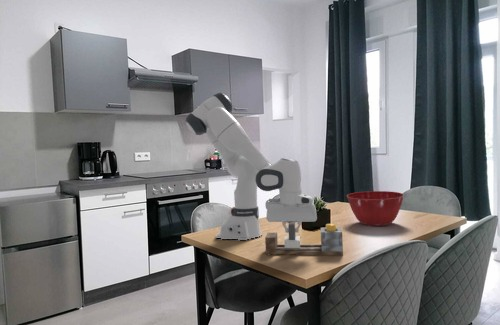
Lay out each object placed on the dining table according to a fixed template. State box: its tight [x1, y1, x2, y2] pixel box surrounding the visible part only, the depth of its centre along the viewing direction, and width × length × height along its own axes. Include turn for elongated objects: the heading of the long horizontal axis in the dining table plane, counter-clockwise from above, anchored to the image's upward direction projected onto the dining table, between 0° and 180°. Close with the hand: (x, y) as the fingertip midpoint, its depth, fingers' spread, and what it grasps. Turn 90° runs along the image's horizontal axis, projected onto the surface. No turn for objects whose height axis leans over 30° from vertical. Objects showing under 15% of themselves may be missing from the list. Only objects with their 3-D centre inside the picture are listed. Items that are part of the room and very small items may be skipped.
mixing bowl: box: [346, 190, 405, 227], centre depth 188 cm, size 28×28×16 cm
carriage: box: [283, 222, 301, 248], centre depth 145 cm, size 6×7×9 cm
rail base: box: [264, 226, 344, 256], centre depth 144 cm, size 30×8×9 cm, turn 80°
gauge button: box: [325, 223, 337, 231], centre depth 142 cm, size 4×4×4 cm
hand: (292, 232), depth 145 cm, fingers closed on carriage, 2 cm apart
